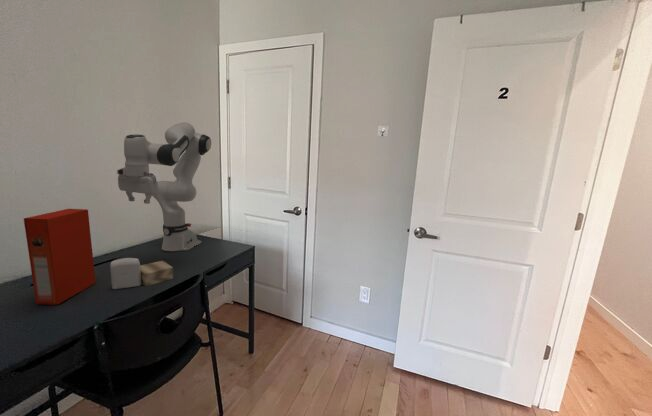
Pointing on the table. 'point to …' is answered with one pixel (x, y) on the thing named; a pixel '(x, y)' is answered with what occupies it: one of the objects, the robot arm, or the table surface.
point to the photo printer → (125, 273)
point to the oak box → (155, 273)
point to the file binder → (60, 254)
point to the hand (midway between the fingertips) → (139, 202)
